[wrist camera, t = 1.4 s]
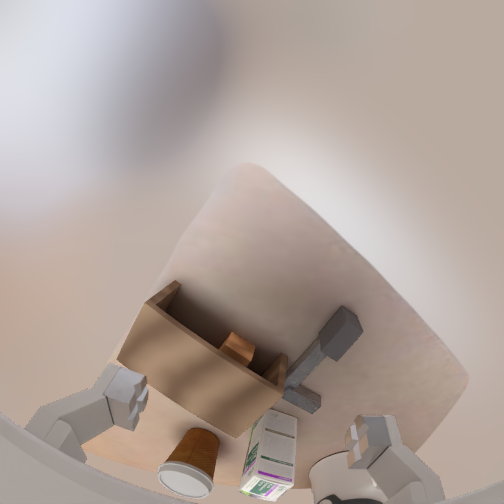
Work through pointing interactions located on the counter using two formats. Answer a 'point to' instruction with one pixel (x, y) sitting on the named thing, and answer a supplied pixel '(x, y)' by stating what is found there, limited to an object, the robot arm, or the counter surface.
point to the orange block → (238, 349)
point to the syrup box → (270, 457)
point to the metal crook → (321, 357)
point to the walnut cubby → (198, 370)
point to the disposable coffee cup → (191, 465)
